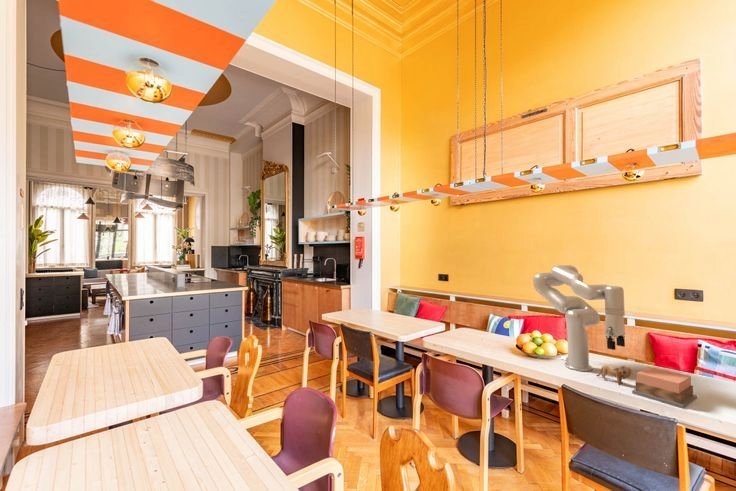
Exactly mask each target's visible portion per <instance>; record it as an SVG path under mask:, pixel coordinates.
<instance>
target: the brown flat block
mask: <svg viewBox="0 0 736 491" xmlns="http://www.w3.org/2000/svg"><path fill="white" fill-rule="evenodd" d="M635 389H636V391H638V392H641V393H645V394H648V395H651V396H655V397H658V398H662V399H665V400H669V401H672V402H675V403H679V404H681V403H683V402H684V401H686V400H687V399H689V398H690V397H692V396H693V395H694V386H693V385H691V386H690V387H688V388H687V389H685V390H684V391H682V392H681V393H676V392H672V391H669V390H665V389H661V388H658V387H654V386H650V385H647V384H643V383H639V382H637V381H635Z"/></svg>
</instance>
